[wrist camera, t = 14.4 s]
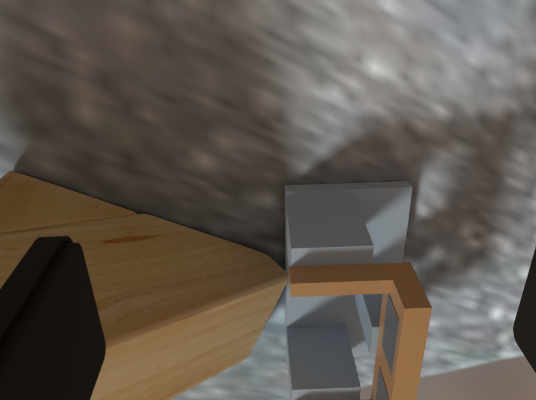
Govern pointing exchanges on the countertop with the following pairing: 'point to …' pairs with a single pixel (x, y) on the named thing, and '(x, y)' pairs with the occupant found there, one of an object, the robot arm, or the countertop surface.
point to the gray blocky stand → (338, 253)
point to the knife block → (148, 287)
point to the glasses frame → (391, 318)
